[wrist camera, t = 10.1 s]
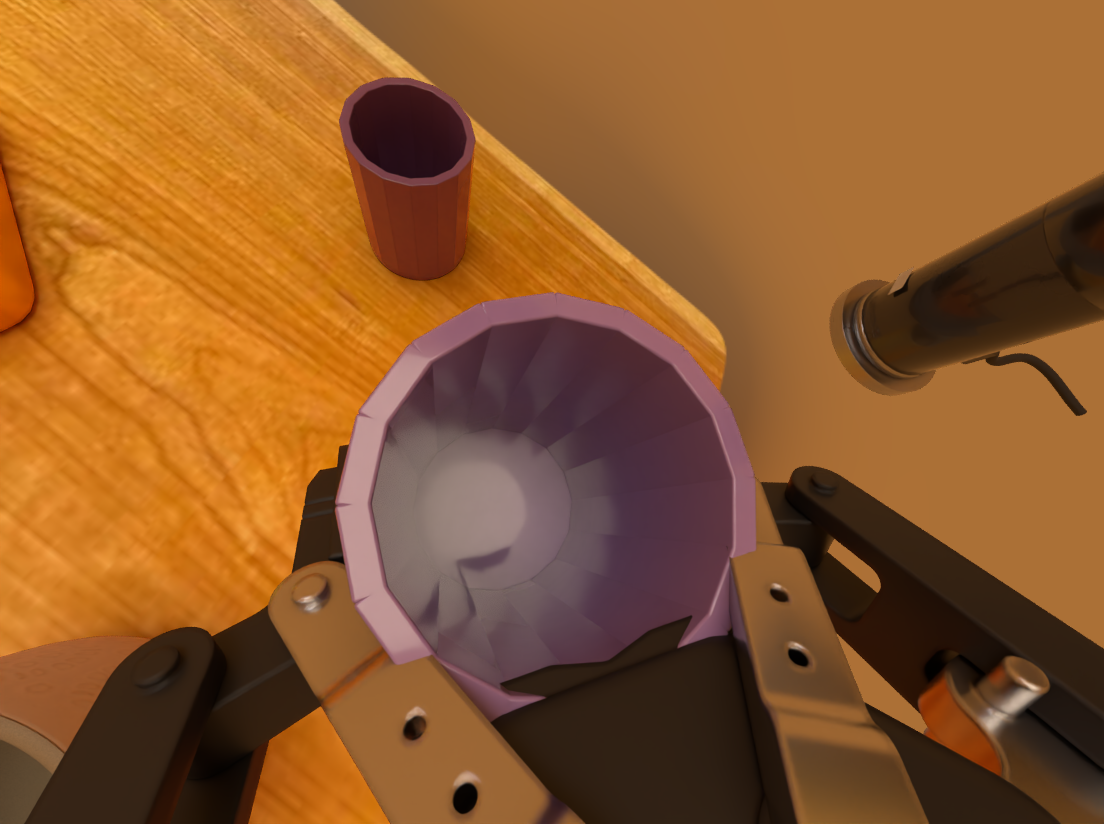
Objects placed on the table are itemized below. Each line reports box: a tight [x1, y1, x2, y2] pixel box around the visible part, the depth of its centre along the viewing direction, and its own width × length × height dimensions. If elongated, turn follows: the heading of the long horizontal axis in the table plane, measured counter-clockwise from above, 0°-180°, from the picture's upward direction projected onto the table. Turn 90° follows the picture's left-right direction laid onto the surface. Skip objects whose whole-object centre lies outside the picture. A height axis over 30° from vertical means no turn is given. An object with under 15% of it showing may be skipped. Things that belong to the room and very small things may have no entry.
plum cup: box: [339, 78, 475, 280], centre depth 26 cm, size 6×6×9 cm
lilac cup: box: [335, 293, 756, 722], centre depth 11 cm, size 6×6×10 cm
